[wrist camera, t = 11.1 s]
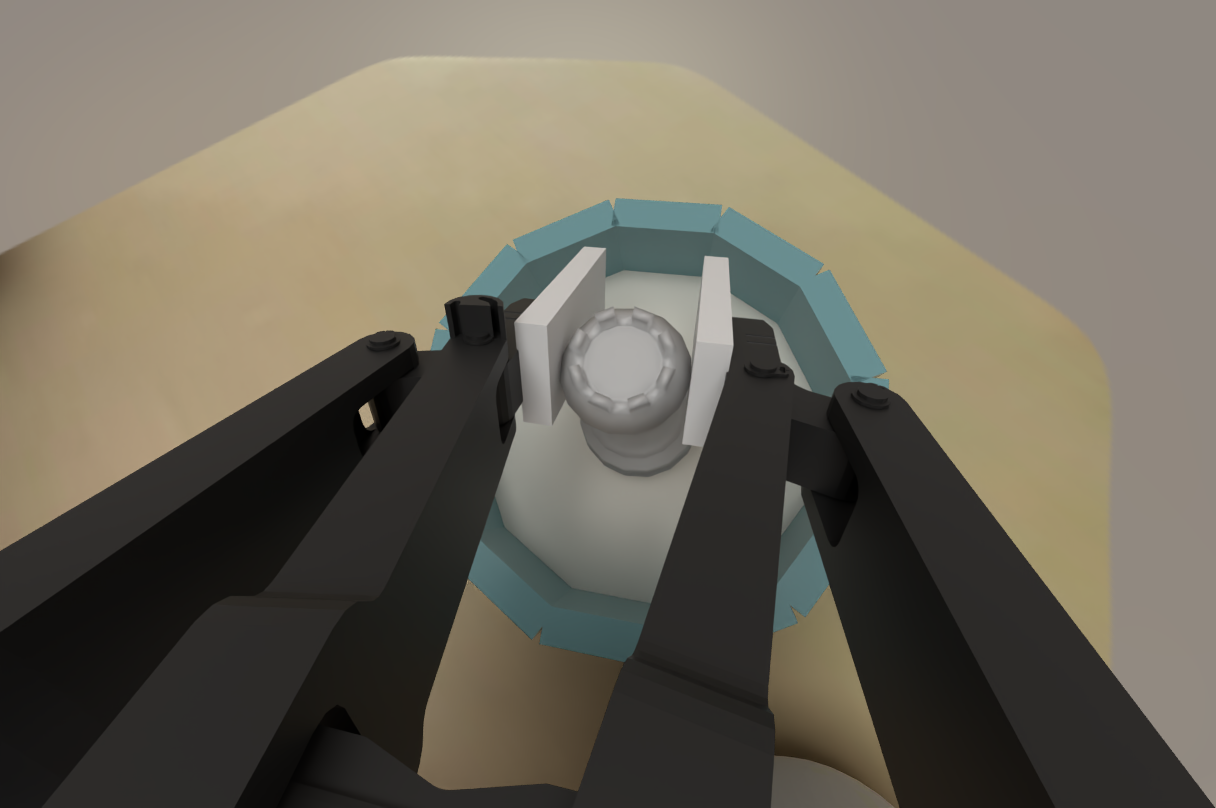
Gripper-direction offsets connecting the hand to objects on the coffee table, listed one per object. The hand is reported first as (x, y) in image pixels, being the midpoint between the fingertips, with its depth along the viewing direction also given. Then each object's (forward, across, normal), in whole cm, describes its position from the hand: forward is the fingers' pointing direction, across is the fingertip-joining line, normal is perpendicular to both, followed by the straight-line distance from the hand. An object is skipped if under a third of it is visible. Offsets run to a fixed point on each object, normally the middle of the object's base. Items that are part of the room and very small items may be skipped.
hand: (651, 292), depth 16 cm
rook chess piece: (0, 0, -5) cm, 5 cm away
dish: (+1, 0, -7) cm, 7 cm away
